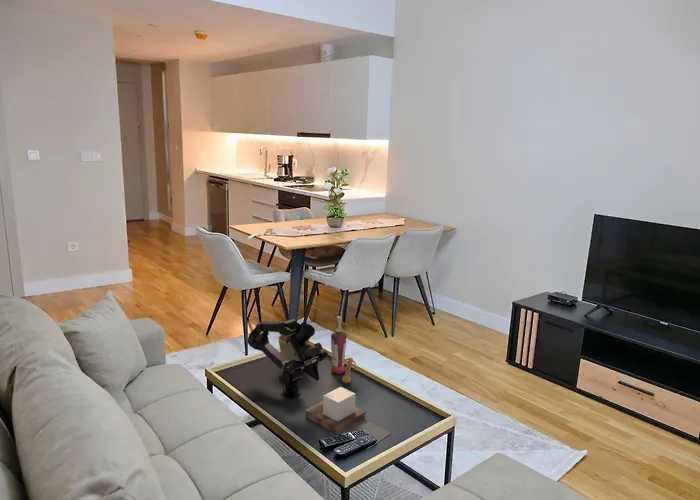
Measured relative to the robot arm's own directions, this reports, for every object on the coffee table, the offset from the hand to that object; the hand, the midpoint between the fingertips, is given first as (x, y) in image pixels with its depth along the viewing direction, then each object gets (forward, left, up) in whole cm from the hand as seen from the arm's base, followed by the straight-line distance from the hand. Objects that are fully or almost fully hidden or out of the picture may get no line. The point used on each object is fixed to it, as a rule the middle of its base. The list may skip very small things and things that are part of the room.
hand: (318, 380), depth 209 cm
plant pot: (-35, +18, -13) cm, 41 cm away
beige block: (+12, 0, -10) cm, 16 cm away
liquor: (-17, +30, -13) cm, 37 cm away
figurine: (-7, +26, -13) cm, 30 cm away
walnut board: (+10, 0, -13) cm, 16 cm away
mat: (+26, 0, -13) cm, 29 cm away
